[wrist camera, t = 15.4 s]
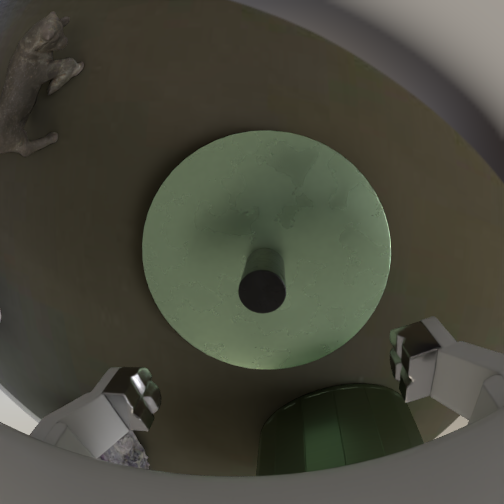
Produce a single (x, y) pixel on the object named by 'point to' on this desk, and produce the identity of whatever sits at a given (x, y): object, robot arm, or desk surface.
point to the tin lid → (266, 249)
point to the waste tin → (336, 430)
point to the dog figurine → (33, 82)
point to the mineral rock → (127, 452)
